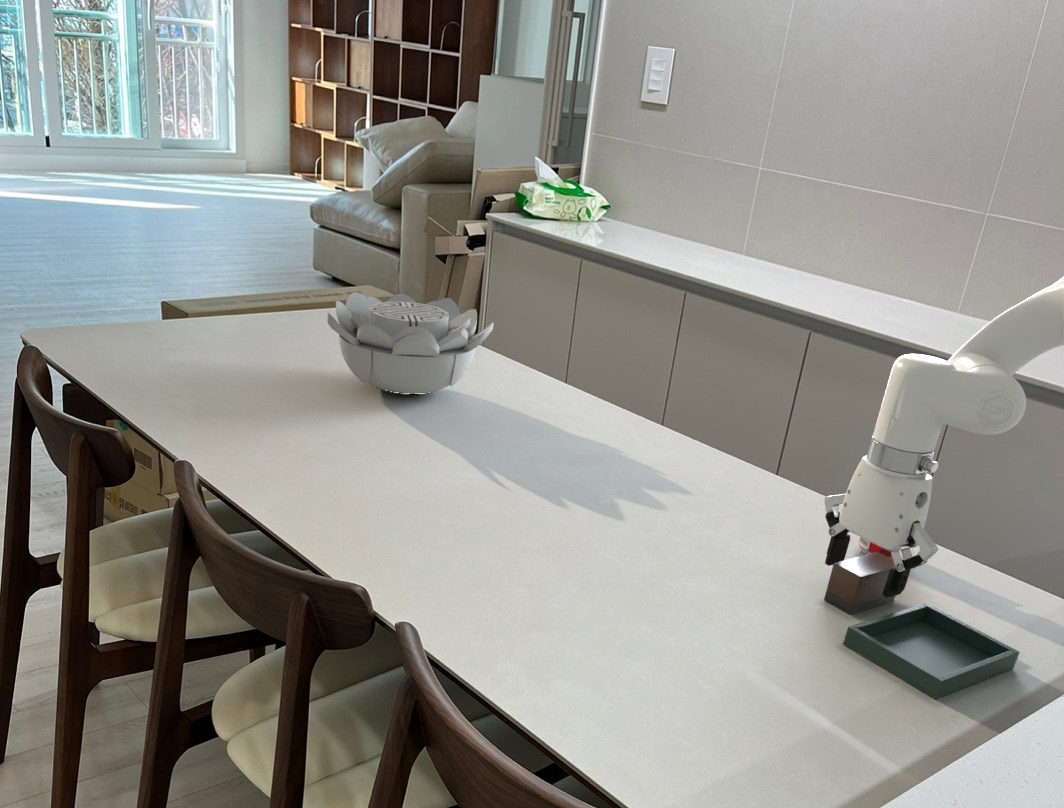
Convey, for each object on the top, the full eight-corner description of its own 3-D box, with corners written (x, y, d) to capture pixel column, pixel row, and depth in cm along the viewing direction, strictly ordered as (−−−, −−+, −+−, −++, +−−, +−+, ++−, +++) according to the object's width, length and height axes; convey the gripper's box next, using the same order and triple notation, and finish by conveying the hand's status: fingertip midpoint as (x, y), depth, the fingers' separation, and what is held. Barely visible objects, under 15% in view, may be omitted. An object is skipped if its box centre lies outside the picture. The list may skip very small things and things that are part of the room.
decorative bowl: (328, 412, 187) (330, 327, 180) (322, 364, 212) (323, 288, 205) (496, 418, 194) (504, 336, 187) (471, 371, 219) (477, 298, 212)
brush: (867, 587, 145) (877, 551, 143) (893, 602, 142) (904, 565, 140) (823, 600, 140) (833, 562, 138) (850, 615, 137) (860, 577, 135)
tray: (920, 619, 138) (926, 602, 137) (1013, 669, 129) (1020, 651, 128) (842, 644, 130) (847, 626, 129) (935, 699, 120) (941, 681, 119)
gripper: (976, 478, 128) (933, 603, 136) (863, 431, 140) (830, 548, 148) (939, 485, 124) (897, 613, 132) (826, 436, 136) (794, 556, 144)
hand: (862, 578), depth 140 cm, fingers open, 9 cm apart
